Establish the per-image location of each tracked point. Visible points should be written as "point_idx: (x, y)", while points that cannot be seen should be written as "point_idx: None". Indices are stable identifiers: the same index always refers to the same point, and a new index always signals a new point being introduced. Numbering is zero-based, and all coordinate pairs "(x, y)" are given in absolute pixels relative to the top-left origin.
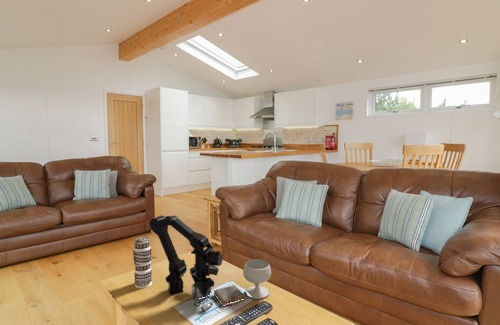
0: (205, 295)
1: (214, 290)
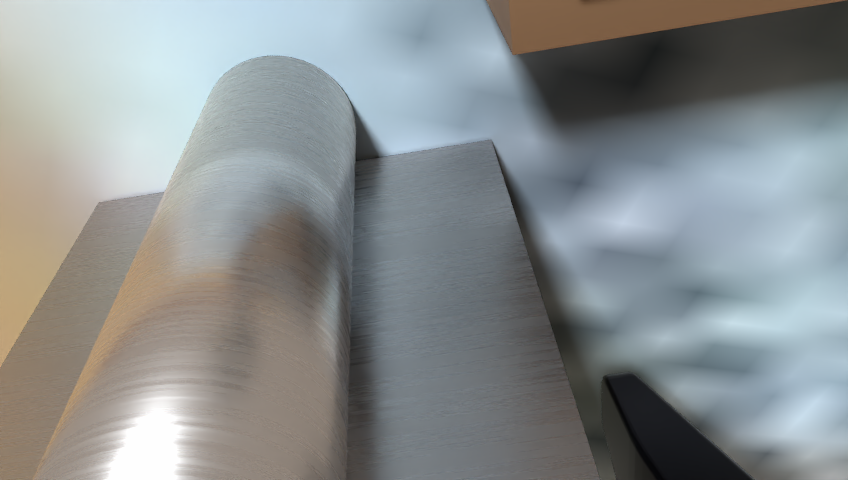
0: (675, 424)
1: (526, 37)
